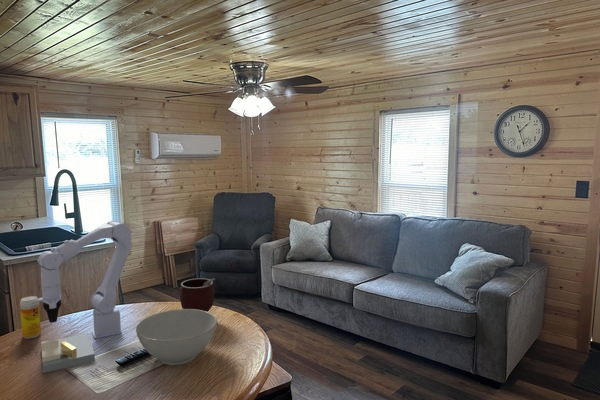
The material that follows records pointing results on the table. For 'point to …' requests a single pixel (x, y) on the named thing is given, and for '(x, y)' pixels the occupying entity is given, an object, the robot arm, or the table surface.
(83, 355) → the grey flat rectangular board
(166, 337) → the decorative bowl
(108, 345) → the table surface
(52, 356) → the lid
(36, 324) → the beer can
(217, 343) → the table surface
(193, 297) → the mate gourd
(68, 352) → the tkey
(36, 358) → the table surface
